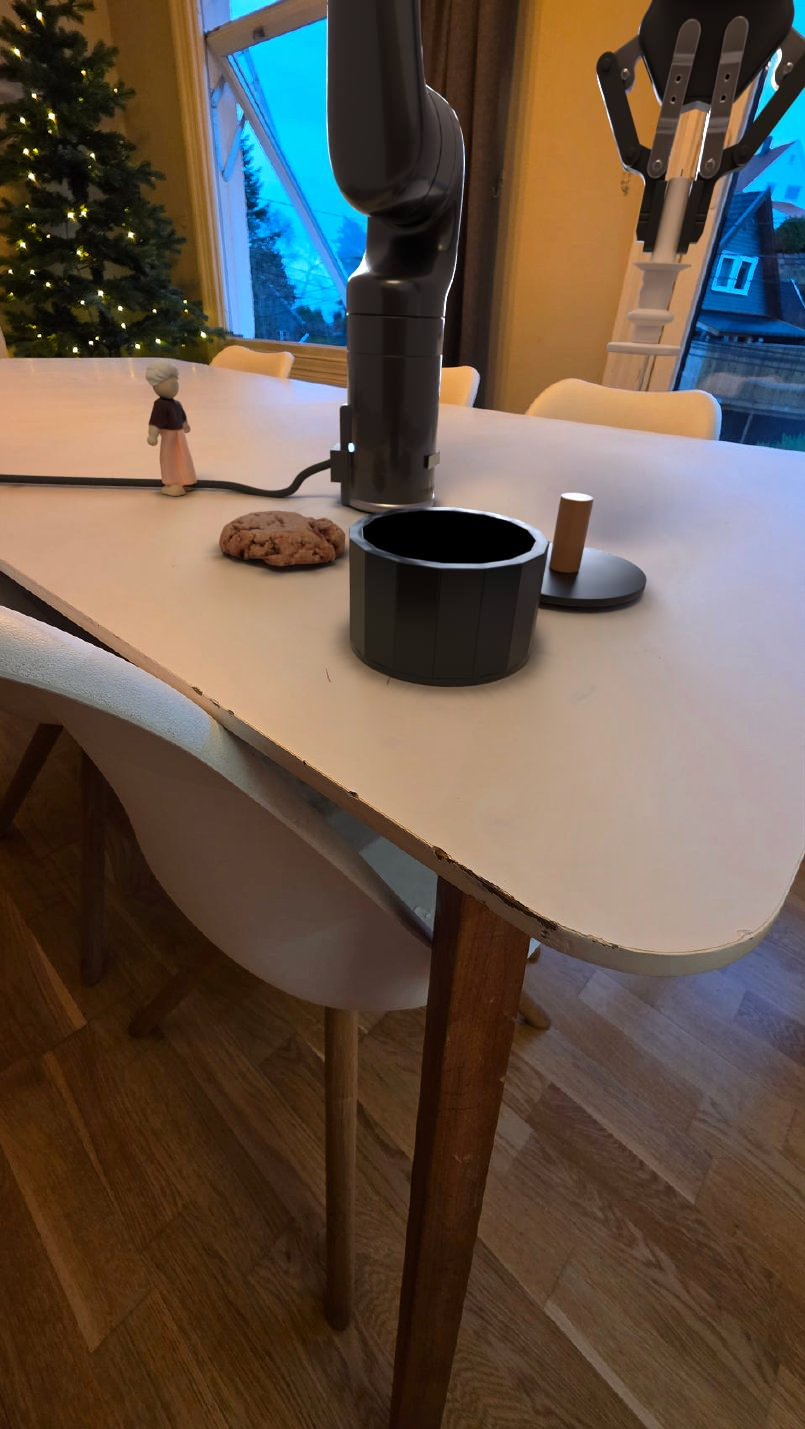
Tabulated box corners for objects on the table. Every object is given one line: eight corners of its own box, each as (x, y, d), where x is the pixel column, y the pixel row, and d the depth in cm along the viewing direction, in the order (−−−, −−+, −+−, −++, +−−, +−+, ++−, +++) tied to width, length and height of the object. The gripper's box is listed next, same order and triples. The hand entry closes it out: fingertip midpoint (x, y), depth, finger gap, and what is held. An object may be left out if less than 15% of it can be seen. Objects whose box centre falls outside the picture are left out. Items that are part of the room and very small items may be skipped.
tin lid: (467, 598, 47) (476, 507, 43) (498, 548, 57) (508, 471, 53) (642, 626, 44) (668, 530, 40) (643, 568, 54) (664, 487, 50)
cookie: (227, 534, 57) (224, 500, 55) (344, 535, 58) (343, 502, 57) (211, 573, 49) (205, 535, 47) (347, 573, 50) (346, 536, 48)
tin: (320, 664, 37) (315, 549, 33) (385, 595, 47) (388, 498, 43) (512, 702, 34) (531, 582, 31) (541, 621, 44) (559, 520, 40)
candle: (615, 349, 49) (650, 177, 44) (684, 354, 47) (730, 174, 41) (598, 351, 45) (633, 163, 40) (672, 357, 43) (720, 159, 38)
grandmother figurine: (187, 499, 66) (168, 363, 59) (151, 497, 66) (127, 361, 59) (207, 482, 73) (192, 357, 66) (174, 480, 73) (155, 355, 66)
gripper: (875, -123, 35) (763, 260, 44) (622, -98, 38) (568, 254, 48) (924, -215, 29) (782, 252, 38) (618, -176, 32) (557, 246, 42)
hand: (664, 252), depth 43 cm, fingers closed on candle
